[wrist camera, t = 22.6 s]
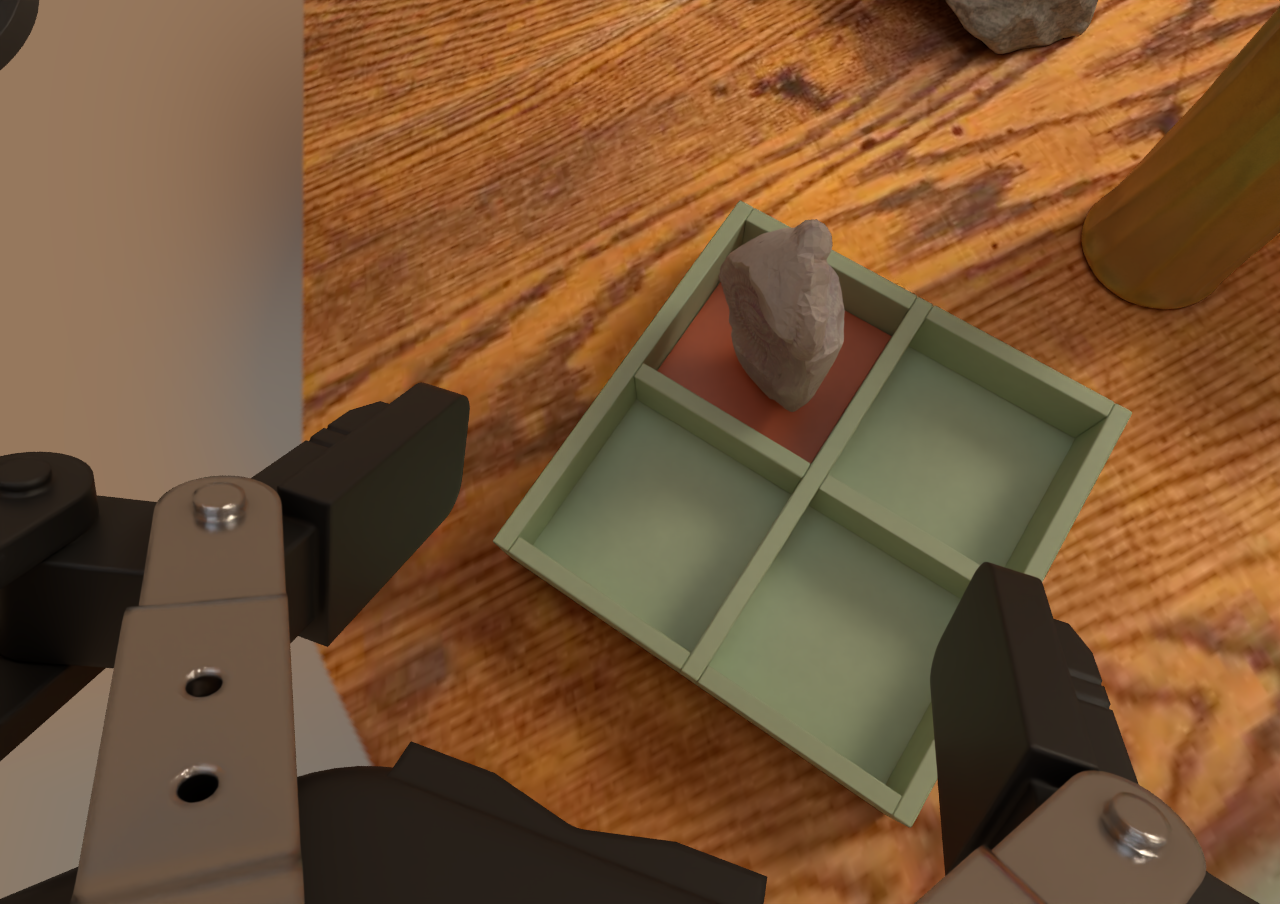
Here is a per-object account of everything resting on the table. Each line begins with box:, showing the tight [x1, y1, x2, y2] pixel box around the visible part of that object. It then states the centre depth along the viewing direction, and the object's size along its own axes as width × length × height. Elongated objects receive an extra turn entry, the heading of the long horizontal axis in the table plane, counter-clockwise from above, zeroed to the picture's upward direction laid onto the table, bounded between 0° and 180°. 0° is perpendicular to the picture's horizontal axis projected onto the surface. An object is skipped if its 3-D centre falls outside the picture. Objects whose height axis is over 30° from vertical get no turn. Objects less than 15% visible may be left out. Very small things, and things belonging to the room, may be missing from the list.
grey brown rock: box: [718, 219, 845, 412], centre depth 29 cm, size 6×4×10 cm, turn 25°
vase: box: [1081, 7, 1280, 309], centre depth 29 cm, size 6×6×14 cm
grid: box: [493, 201, 1132, 828], centre depth 31 cm, size 17×17×3 cm
